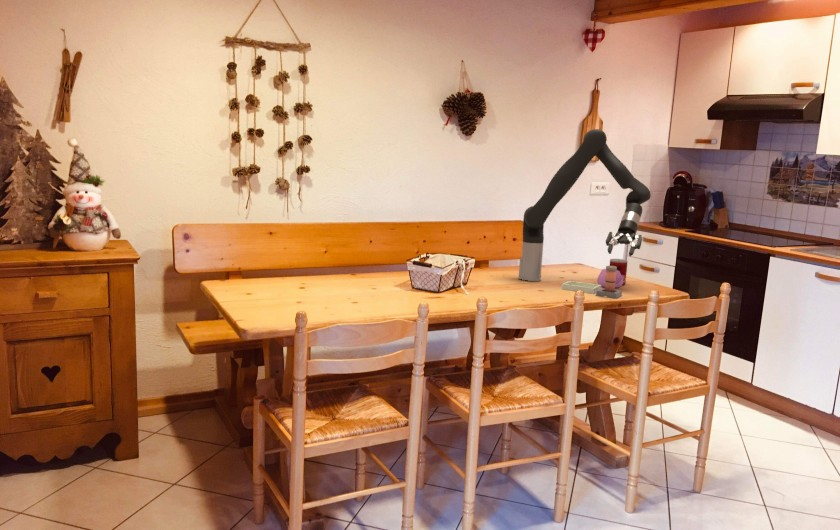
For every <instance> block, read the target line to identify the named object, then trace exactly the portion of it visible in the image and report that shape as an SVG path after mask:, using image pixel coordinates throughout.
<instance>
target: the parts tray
mask: <svg viewBox="0 0 840 530" xmlns="http://www.w3.org/2000/svg"><path fill="white" fill-rule="evenodd" d="M601 288H602V286H601V285H599V284H598V283H589V282H581V281H573V280H568V281H566V282H564V283H561V288H560V290H563V291H564V290H565V291H571V292H577V291H578V290H581V291H583V292H582V293H585V294H591V295H596V291H597V290H599V289H601Z"/></svg>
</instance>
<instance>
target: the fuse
mask: <svg viewBox="0 0 840 530" xmlns="http://www.w3.org/2000/svg"><path fill="white" fill-rule="evenodd" d="M605 269H606V276H605V287H603V288H604V291H606V292H613V293H614V290H616V288H615V279H616V271H617V267H616V266H610V265H606V266H605Z"/></svg>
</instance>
